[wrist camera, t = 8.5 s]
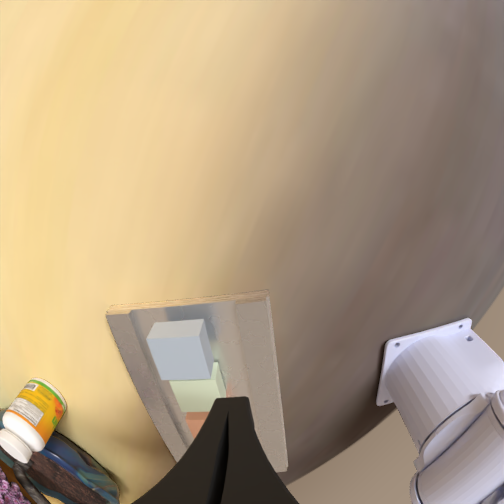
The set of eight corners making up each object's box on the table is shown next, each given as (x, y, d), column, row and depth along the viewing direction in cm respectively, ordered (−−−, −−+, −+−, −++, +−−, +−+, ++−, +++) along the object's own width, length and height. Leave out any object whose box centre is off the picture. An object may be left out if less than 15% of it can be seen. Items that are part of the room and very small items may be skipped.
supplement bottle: (64, 416, 26) (32, 473, 16) (29, 391, 25) (-8, 442, 15) (71, 397, 24) (33, 460, 15) (32, 368, 23) (-12, 424, 14)
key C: (228, 401, 22) (227, 418, 20) (235, 425, 23) (234, 442, 21) (189, 402, 22) (185, 419, 20) (198, 426, 23) (196, 442, 21)
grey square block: (203, 318, 18) (198, 335, 17) (213, 359, 20) (210, 378, 18) (154, 322, 19) (146, 338, 17) (168, 362, 20) (161, 380, 18)
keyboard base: (268, 289, 20) (269, 300, 19) (287, 460, 27) (288, 470, 25) (111, 305, 21) (103, 315, 19) (184, 463, 27) (182, 474, 26)
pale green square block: (218, 361, 21) (215, 379, 19) (226, 393, 22) (224, 410, 20) (174, 364, 21) (169, 381, 19) (186, 395, 22) (181, 412, 20)
